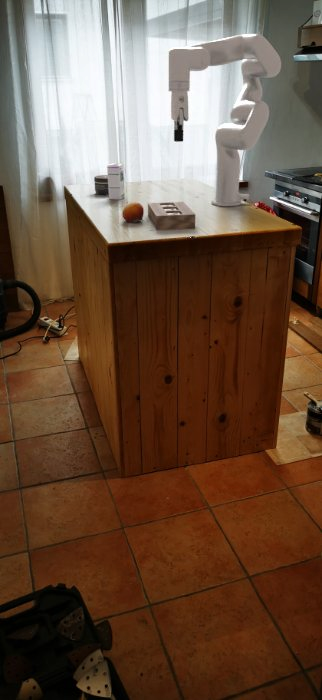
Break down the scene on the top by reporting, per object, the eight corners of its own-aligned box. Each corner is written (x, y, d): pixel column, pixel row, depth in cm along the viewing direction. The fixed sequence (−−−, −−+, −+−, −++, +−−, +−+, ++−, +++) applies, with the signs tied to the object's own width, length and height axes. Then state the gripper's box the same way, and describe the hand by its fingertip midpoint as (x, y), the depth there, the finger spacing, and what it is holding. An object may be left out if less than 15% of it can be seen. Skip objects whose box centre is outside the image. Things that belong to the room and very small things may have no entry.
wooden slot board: (183, 214, 219) (183, 201, 217) (195, 228, 200) (195, 214, 198) (148, 216, 217) (147, 203, 215) (156, 230, 198) (156, 215, 196)
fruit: (140, 221, 204) (130, 201, 203) (125, 230, 209) (115, 210, 208) (152, 217, 210) (142, 197, 209) (137, 225, 215) (128, 206, 214)
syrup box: (121, 199, 246) (120, 165, 240) (108, 199, 247) (106, 164, 241) (124, 197, 251) (123, 163, 245) (112, 196, 252) (110, 163, 246)
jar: (101, 190, 265) (101, 174, 262) (120, 192, 261) (119, 175, 258) (90, 194, 257) (89, 177, 254) (109, 196, 253) (109, 178, 250)
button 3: (178, 218, 204) (179, 212, 203) (181, 221, 200) (181, 214, 199) (166, 218, 203) (166, 212, 202) (168, 221, 199) (168, 215, 198)
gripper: (193, 87, 194) (192, 143, 202) (185, 86, 207) (184, 139, 215) (172, 87, 193) (172, 143, 201) (165, 86, 206) (165, 139, 214)
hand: (178, 141), depth 208 cm, fingers closed
